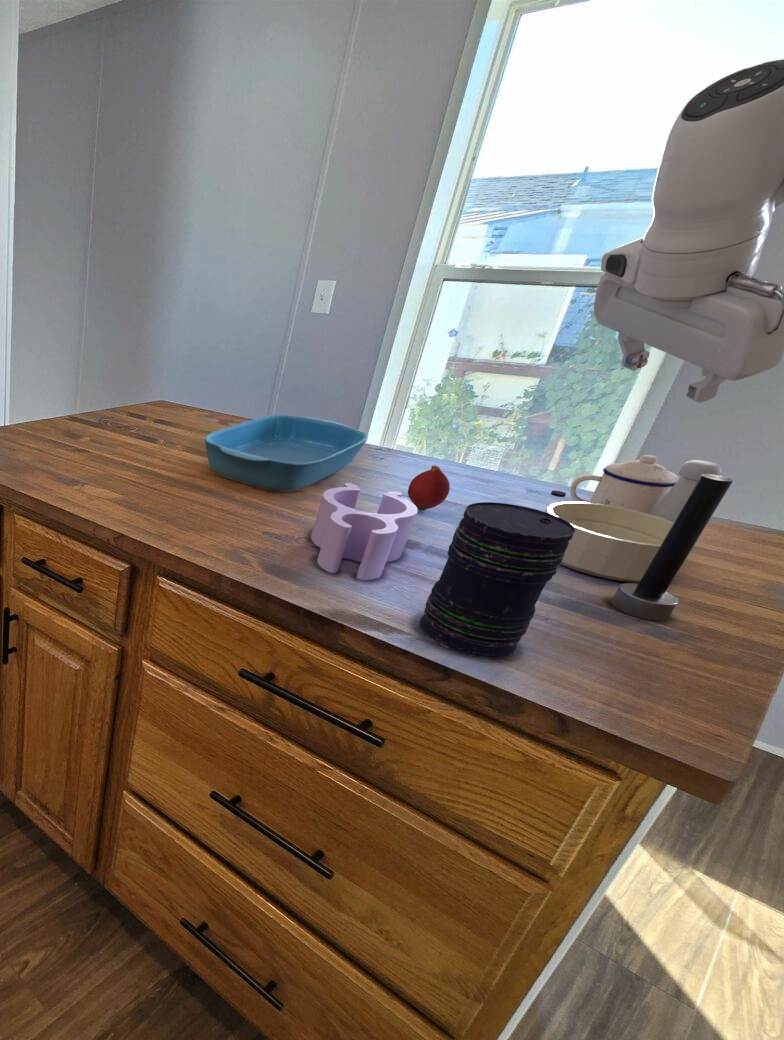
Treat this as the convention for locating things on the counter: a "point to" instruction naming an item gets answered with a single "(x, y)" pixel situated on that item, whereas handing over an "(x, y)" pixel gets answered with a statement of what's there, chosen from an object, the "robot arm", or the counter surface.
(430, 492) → the onion
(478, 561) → the oil drum
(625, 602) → the black tall cylinder post
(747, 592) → the counter surface
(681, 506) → the salt shaker
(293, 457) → the casserole dish
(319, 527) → the clip
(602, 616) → the counter surface
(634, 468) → the teacup with lid
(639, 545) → the bowl
